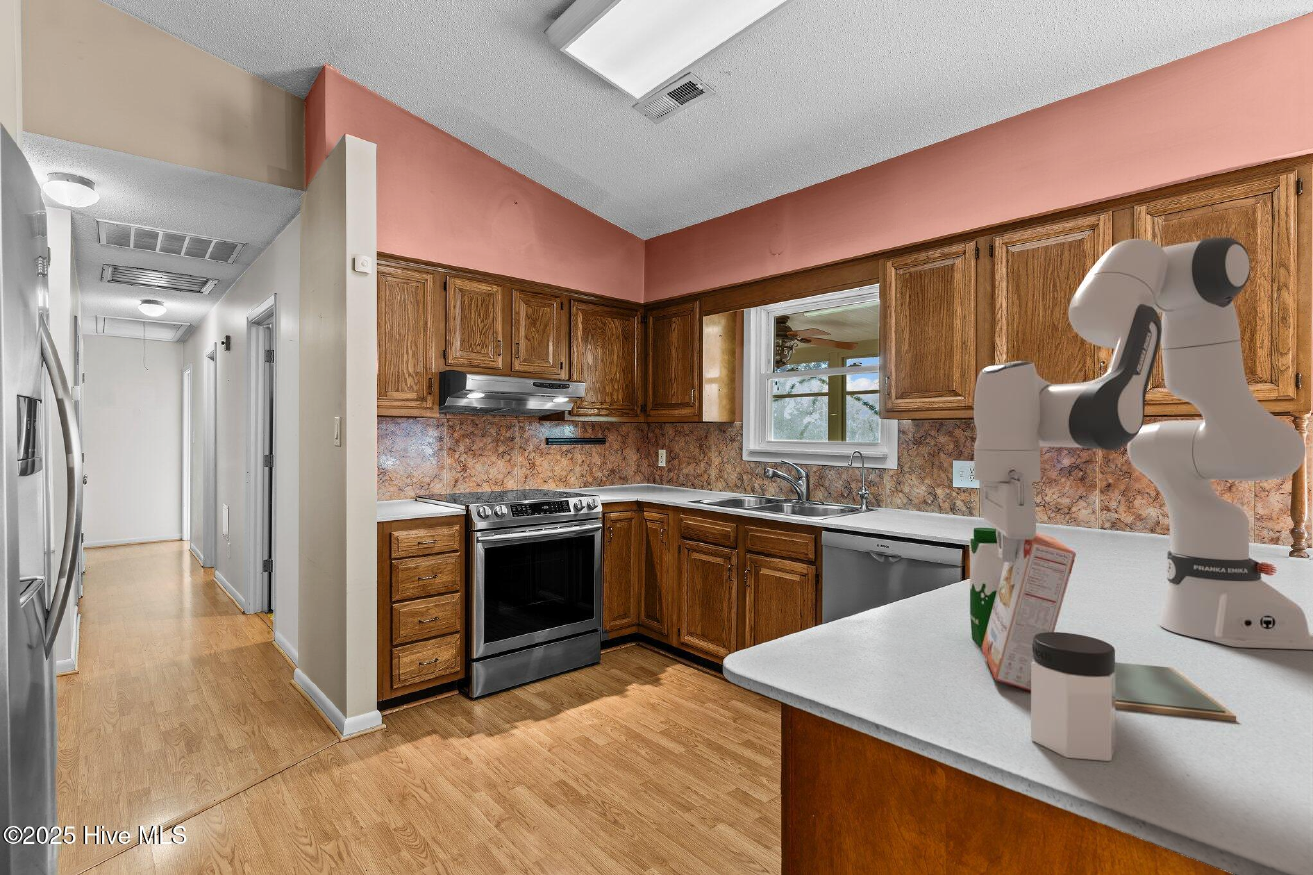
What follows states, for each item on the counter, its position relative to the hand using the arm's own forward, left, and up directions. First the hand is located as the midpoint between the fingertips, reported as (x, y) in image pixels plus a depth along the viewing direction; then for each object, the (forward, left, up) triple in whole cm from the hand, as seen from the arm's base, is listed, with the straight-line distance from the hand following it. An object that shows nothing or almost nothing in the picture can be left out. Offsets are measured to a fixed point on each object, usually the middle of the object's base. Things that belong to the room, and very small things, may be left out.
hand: (1007, 560), depth 98 cm
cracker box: (0, 0, -17) cm, 17 cm away
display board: (-14, 0, -17) cm, 22 cm away
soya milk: (-2, -15, -18) cm, 23 cm away
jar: (-3, +22, -18) cm, 28 cm away
